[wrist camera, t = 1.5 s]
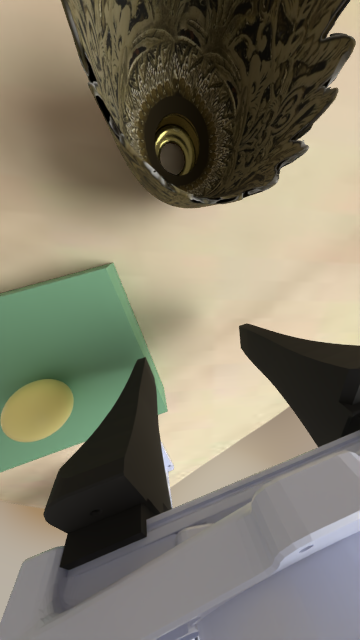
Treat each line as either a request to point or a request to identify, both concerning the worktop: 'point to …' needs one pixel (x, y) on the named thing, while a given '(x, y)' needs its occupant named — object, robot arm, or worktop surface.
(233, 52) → the cup
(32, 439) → the ball
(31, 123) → the worktop surface
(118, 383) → the green rectangular slab
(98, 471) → the robot arm
